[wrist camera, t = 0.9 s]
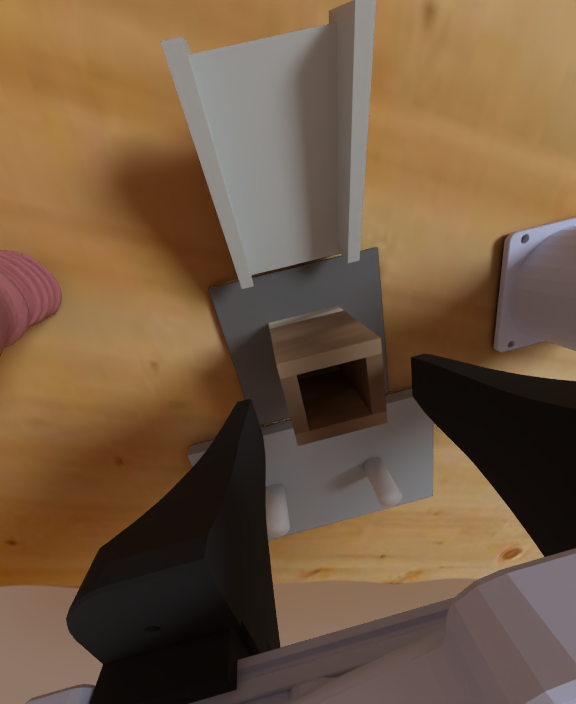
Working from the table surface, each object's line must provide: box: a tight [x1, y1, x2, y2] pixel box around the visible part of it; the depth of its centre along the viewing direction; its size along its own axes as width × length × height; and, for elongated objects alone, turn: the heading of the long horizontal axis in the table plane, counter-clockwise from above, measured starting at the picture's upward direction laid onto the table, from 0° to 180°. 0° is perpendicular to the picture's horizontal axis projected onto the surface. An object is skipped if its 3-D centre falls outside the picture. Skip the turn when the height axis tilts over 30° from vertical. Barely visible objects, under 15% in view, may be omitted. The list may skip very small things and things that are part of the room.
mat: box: [209, 247, 389, 425], centre depth 17 cm, size 10×10×1 cm
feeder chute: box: [160, 0, 376, 289], centre depth 11 cm, size 6×8×6 cm
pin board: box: [187, 388, 433, 540], centre depth 20 cm, size 18×11×4 cm, turn 103°
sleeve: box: [269, 306, 388, 446], centre depth 14 cm, size 4×4×6 cm
